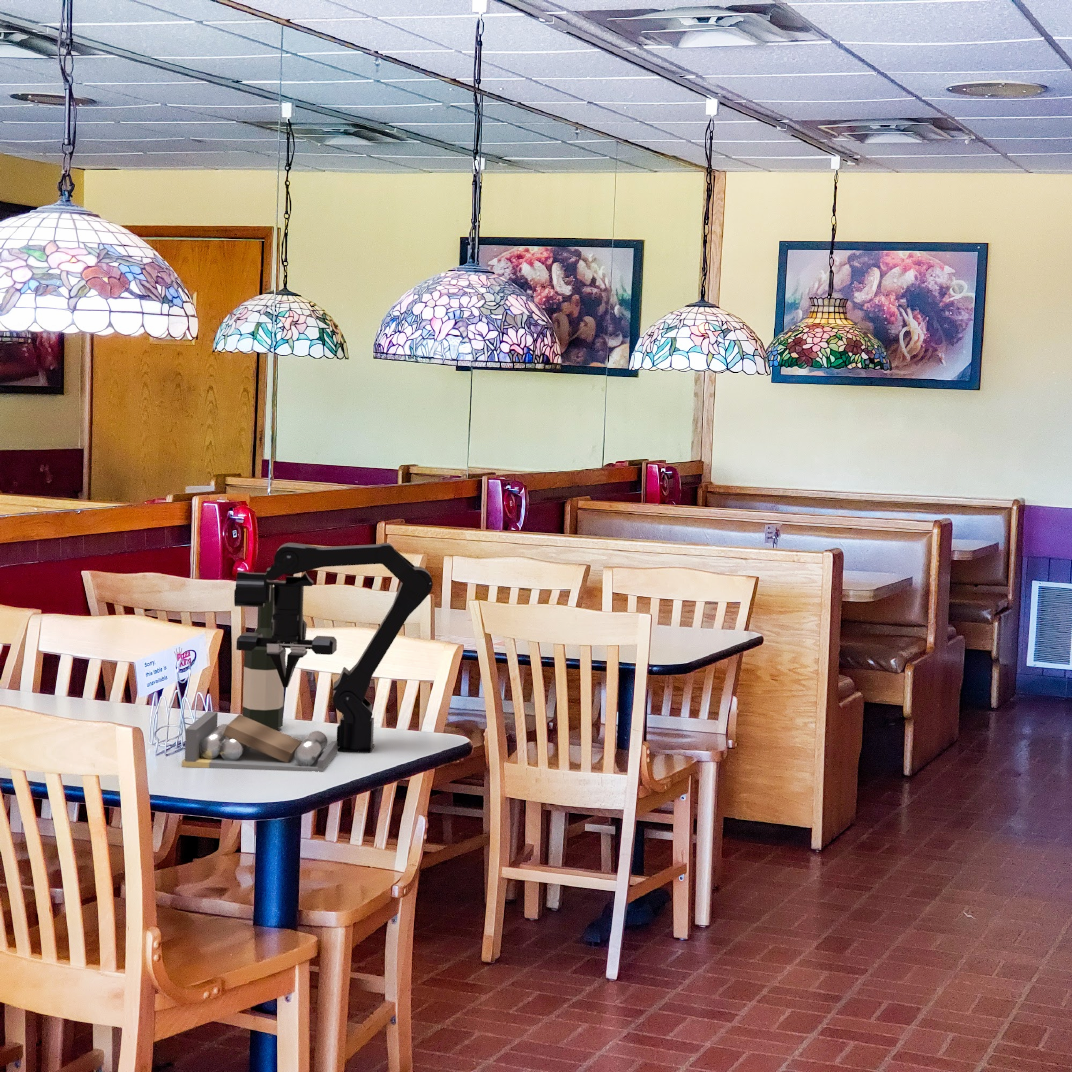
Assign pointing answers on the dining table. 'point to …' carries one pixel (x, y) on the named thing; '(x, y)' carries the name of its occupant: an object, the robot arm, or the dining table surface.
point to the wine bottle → (263, 677)
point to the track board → (249, 758)
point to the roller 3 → (310, 748)
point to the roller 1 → (213, 742)
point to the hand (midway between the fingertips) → (285, 687)
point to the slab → (262, 738)
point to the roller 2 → (232, 749)
